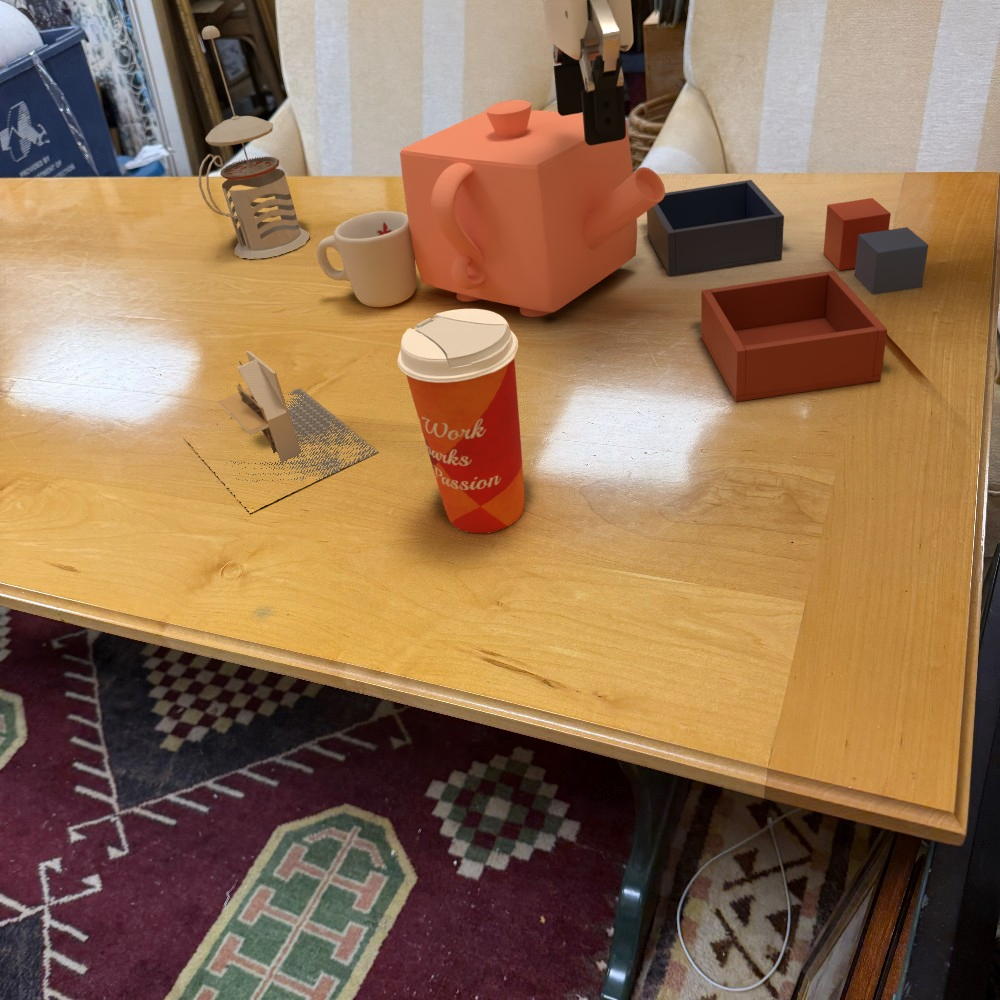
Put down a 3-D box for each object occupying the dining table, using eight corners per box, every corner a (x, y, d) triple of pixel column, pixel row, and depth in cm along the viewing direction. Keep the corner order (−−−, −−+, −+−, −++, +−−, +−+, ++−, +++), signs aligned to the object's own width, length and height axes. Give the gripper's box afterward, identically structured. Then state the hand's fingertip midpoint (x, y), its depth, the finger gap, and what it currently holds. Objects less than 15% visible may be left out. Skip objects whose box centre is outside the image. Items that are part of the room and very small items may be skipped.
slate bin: (749, 220, 100) (751, 179, 98) (781, 259, 91) (784, 215, 89) (647, 235, 101) (646, 195, 98) (669, 276, 92) (668, 233, 89)
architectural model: (264, 471, 73) (235, 390, 68) (232, 438, 78) (203, 361, 73) (302, 453, 74) (276, 373, 70) (268, 422, 79) (242, 345, 74)
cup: (315, 315, 96) (295, 242, 91) (343, 283, 102) (325, 213, 97) (411, 314, 93) (395, 238, 88) (434, 280, 99) (420, 208, 94)
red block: (867, 247, 91) (872, 197, 88) (884, 264, 87) (891, 213, 84) (823, 253, 91) (827, 204, 88) (838, 270, 88) (843, 220, 85)
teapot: (722, 266, 92) (725, 77, 81) (595, 366, 79) (579, 158, 68) (528, 233, 106) (509, 69, 95) (394, 313, 93) (354, 134, 83)
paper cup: (411, 516, 65) (368, 342, 57) (487, 465, 69) (458, 295, 61) (485, 560, 60) (451, 376, 52) (563, 502, 64) (543, 322, 56)
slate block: (900, 278, 85) (907, 226, 82) (920, 298, 81) (928, 244, 78) (852, 286, 85) (858, 234, 82) (871, 305, 81) (877, 252, 78)
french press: (326, 236, 114) (270, 16, 100) (250, 271, 108) (177, 42, 93) (281, 224, 120) (222, 15, 106) (207, 256, 114) (132, 39, 99)
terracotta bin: (829, 318, 80) (834, 270, 78) (880, 380, 71) (887, 329, 69) (701, 337, 81) (701, 290, 78) (735, 402, 72) (737, 351, 69)
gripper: (660, -128, 58) (666, 145, 68) (593, -133, 72) (607, 95, 82) (546, -109, 58) (569, 164, 68) (501, -117, 72) (526, 110, 82)
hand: (590, 126), depth 75 cm, fingers open, 9 cm apart
